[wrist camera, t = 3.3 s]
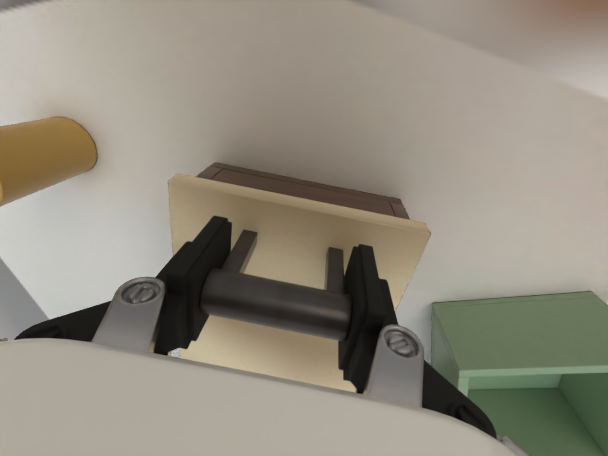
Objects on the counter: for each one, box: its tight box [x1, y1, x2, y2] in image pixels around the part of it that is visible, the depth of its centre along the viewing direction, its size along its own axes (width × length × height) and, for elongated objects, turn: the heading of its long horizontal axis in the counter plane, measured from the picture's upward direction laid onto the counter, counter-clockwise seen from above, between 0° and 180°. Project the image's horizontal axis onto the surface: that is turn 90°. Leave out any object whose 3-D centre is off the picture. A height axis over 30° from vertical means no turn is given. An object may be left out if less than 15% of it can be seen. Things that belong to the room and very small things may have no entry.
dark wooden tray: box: [196, 163, 410, 220], centre depth 19 cm, size 14×12×4 cm
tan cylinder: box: [0, 117, 97, 206], centre depth 16 cm, size 3×3×6 cm
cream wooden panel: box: [168, 174, 431, 392], centre depth 15 cm, size 14×12×6 cm
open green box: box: [431, 292, 608, 456], centre depth 20 cm, size 10×10×6 cm
